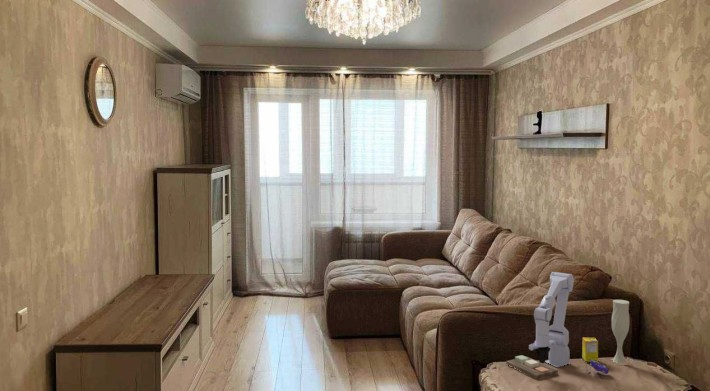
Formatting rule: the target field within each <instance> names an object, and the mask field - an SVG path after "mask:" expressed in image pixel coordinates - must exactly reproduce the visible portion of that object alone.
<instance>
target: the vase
mask: <svg viewBox="0 0 710 391" xmlns="http://www.w3.org/2000/svg"><path fill="white" fill-rule="evenodd" d="M629 307H630V301H628V300H626V299H625V300H624V299H613V300H612V309H613V310H612V313H611V330H612V333H613V336H614V337H615V340H616V345H617V348H616V353H615V355H614V357H613V358H612V359H611V360H613V362H616V363H626V362H628V361H627V360H626V358H625V356H624V352H623V345H624V341H625V339H626V338H627V335H628V333H629V329H630V314H629V310H630V308H629Z"/></svg>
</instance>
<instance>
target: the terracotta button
mask: <svg viewBox="0 0 710 391" xmlns="http://www.w3.org/2000/svg"><path fill="white" fill-rule="evenodd" d="M535 370H536V371H538V372H540V373H545V372H549V370H548V369H546V368H544V367H538V368H535Z"/></svg>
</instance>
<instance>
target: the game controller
mask: <svg viewBox="0 0 710 391" xmlns="http://www.w3.org/2000/svg"><path fill="white" fill-rule="evenodd" d="M596 358H597V357H596ZM599 359H600V360H601V358H599V357H598V360H599ZM585 366H586V367H587V364H586V365H585ZM589 366H590V367H592V368H593V369H594V370H595V371H597V376H599V378H600V379H602V375H601V374H603V375H604V374H605V375H607V374H609V373H610V371H609V368H607V367H608V366H607V365H605V364H601V363H600V362H599V361H598V362H596V361H593V360H591V361H590V363H589ZM591 373H592V372H591V371H589V372H588V373H587V375H589V374H591Z"/></svg>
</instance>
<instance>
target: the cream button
mask: <svg viewBox="0 0 710 391" xmlns="http://www.w3.org/2000/svg"><path fill="white" fill-rule="evenodd" d="M534 360H535V359H534ZM534 360H527V361H525V366H527V367H530V368H535V367H539V361H538V362H536V361H537V360H536V361H534Z"/></svg>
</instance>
